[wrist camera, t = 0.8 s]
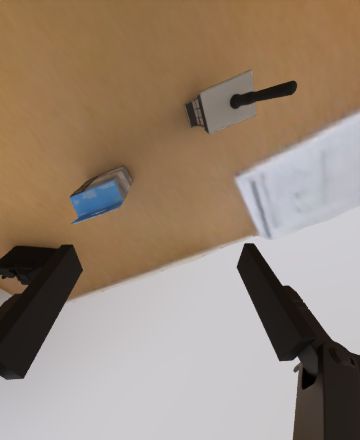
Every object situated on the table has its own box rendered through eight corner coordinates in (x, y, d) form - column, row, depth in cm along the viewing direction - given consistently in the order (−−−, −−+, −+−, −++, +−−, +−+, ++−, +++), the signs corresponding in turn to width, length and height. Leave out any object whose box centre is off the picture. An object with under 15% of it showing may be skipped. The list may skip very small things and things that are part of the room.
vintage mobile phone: (183, 104, 29) (228, 68, 8) (210, 93, 28) (337, 18, 7) (190, 127, 31) (240, 146, 10) (215, 116, 30) (327, 113, 9)
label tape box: (124, 164, 34) (105, 185, 23) (134, 182, 36) (120, 209, 25) (87, 179, 35) (53, 205, 24) (98, 196, 37) (72, 226, 27)
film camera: (21, 269, 47) (-7, 298, 39) (10, 243, 42) (-25, 270, 34) (78, 273, 49) (62, 301, 42) (74, 248, 44) (54, 276, 37)
